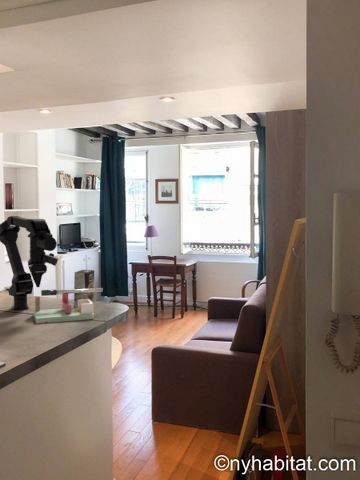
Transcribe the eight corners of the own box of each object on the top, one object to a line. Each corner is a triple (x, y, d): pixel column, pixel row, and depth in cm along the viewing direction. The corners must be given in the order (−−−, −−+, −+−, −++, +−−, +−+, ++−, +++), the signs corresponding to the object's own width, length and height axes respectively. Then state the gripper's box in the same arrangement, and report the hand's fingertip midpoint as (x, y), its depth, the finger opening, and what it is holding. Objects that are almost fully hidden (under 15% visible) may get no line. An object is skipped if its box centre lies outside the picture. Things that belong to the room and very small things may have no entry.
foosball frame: (33, 315, 188) (33, 296, 187) (88, 311, 197) (88, 293, 196) (36, 323, 176) (36, 303, 175) (94, 318, 185) (94, 300, 184)
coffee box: (86, 307, 202) (87, 273, 201) (73, 306, 204) (73, 272, 202) (94, 303, 211) (94, 269, 210) (81, 302, 213) (82, 269, 211)
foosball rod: (41, 308, 189) (41, 289, 188) (101, 304, 199) (101, 286, 198) (43, 314, 180) (43, 294, 179) (106, 310, 190) (107, 291, 189)
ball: (87, 313, 192) (78, 315, 191) (86, 304, 192) (76, 306, 190) (89, 315, 189) (80, 317, 187) (88, 306, 188) (78, 308, 186)
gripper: (59, 251, 182) (59, 288, 183) (53, 245, 199) (53, 280, 200) (31, 251, 177) (31, 289, 179) (27, 246, 194) (27, 281, 196)
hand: (37, 285), depth 189 cm, fingers open, 9 cm apart
